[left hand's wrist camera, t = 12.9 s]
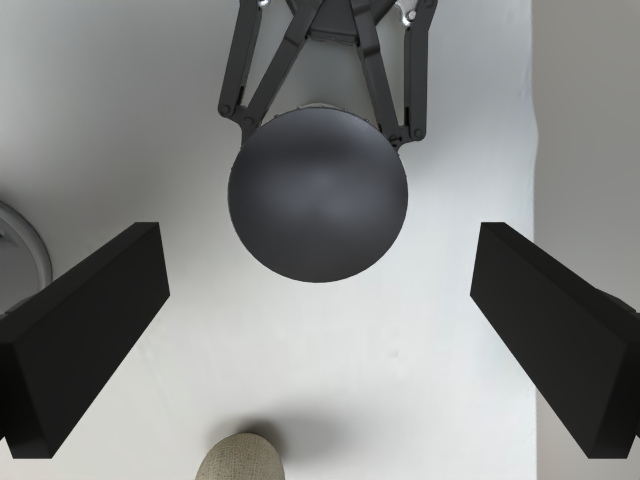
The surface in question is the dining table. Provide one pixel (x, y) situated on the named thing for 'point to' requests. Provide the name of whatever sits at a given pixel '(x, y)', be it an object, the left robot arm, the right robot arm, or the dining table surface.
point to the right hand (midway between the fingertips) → (311, 215)
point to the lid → (317, 194)
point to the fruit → (242, 460)
